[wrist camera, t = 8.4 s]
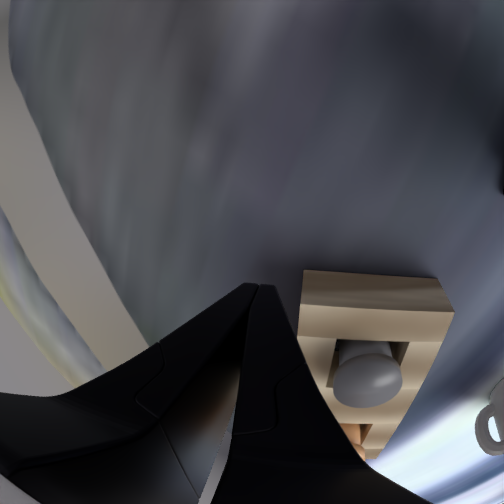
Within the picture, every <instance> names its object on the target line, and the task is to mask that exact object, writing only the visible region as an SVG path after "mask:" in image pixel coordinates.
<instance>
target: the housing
mask: <svg viewBox="0 0 504 504" xmlns="http://www.w3.org/2000/svg"><path fill="white" fill-rule="evenodd" d="M454 313H455V311H454V309H453V307H452V305H451V303H450V301H449V300H448V298H447V296H446V294H445V292H444V290H443V288H442V286H441V284H440V283H439V281H438V279H432V278H416V277H401V276H386V275H372V274H357V273H343V272H330V271H316V270H304V272H303V283H302V293H301V303H300V313H299V324H298V334H297V340H298V342H299V345H300V347H301V350H302V352H303V354H304V357H305V359H306V362H307V364H308V366H309V369H310V371H311V373H312V376H313V378H314V380H315V382H316V384H317V386H318V389H319V391H320V392H321V394H322V396H323V398H324V399H325V401H326V403H327V405H328V407H329V408H330V410H331V411H332V413H333V415H334V416H335V418H336V419H337V421H338V423H349V424H360V445H361V446H362V447H364V449H365V459H376V458H377V457H378V455H379V454H380V452H381V451H382V449H383V448H384V446H385V445H386V444H387V442H388V441H389V439H390V437H391V436H392V434H393V433H394V431H395V430H396V428H397V427H398V425H399V423H400V422H401V420H402V418H403V417H404V415H405V413H406V412H407V410H408V408H409V407H410V405H411V403H412V401H413V400H414V398H415V396H416V394H417V392H418V391H419V389H420V387H421V385H422V383H423V381H424V379H425V377H426V375H427V373H428V371H429V369H430V367H431V365H432V363H433V361H434V359H435V357H436V355H437V353H438V351H439V349H440V346H441V344H442V342H443V340H444V337H445V335H446V333H447V330H448V328H449V326H450V323H451V321H452V318H453V316H454ZM336 339H350V340H371V341H389V344H390V349H391V354H392V358H394V359H395V360H396V361H397V362H398V364H399V366H400V370H401V375H402V380H403V383H402V387H401V389H400V391H399V392H398V394H397V395H396V396H395V397H393V398H392V399H391V400H389V401H387V402H386V403H383V404H381V405H378V406H374V407H369V408H354V407H349V406H346V405H344V404H342V403H340V402H339V401H338V400H337V399H336V398H335V396H334V393H333V377H334V373H335V371H336V370H337V368H338V367H339V351H334V349H335V344H336Z"/></svg>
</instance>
